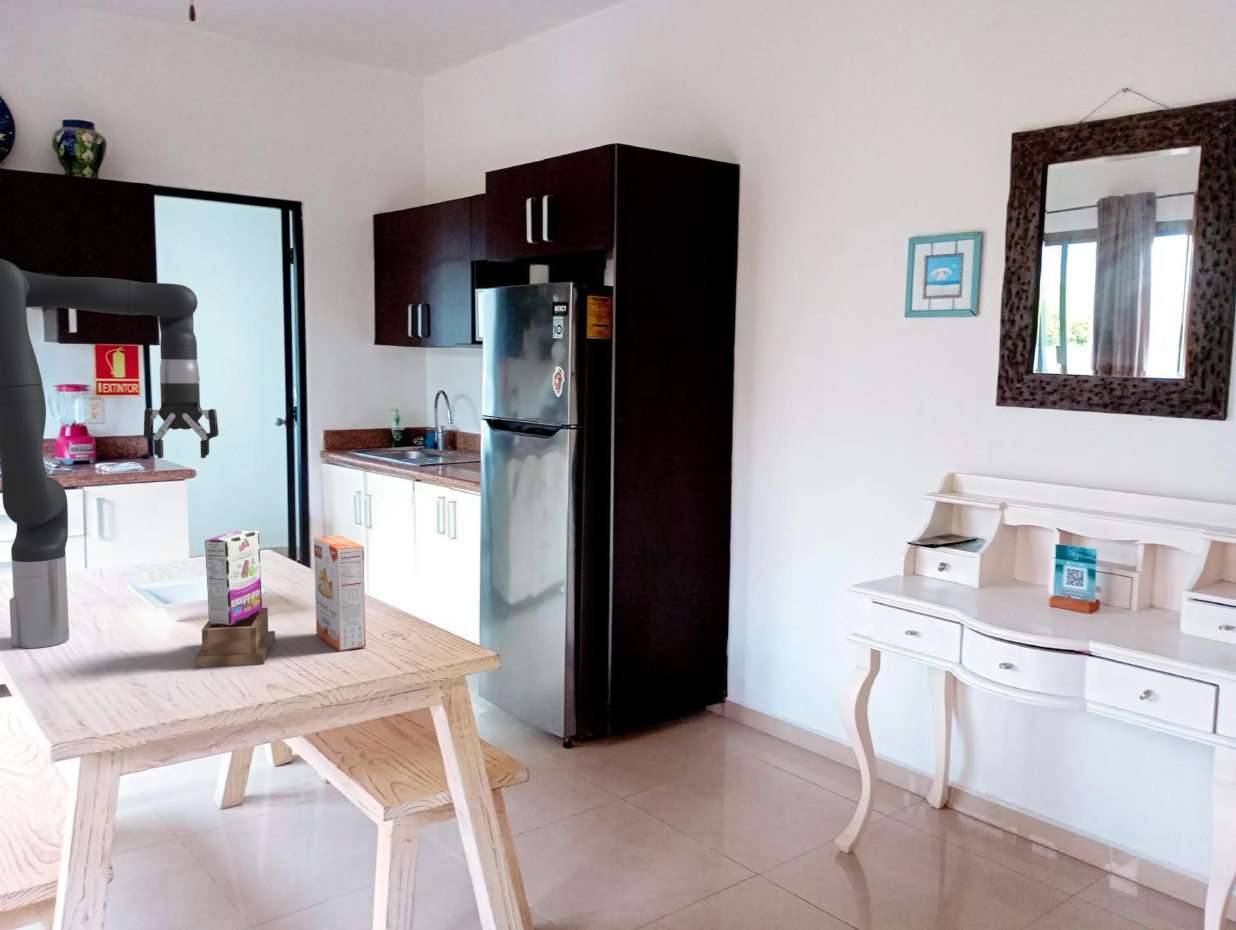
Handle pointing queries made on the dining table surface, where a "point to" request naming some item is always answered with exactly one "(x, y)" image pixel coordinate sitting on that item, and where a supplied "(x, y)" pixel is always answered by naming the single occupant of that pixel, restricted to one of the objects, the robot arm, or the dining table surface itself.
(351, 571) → the cracker box
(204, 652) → the walnut stand
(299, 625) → the dining table surface
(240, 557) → the candy bar box
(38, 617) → the robot arm
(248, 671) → the dining table surface
